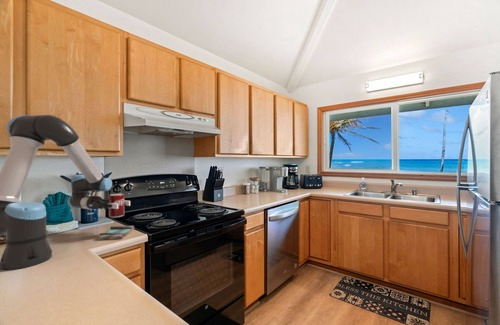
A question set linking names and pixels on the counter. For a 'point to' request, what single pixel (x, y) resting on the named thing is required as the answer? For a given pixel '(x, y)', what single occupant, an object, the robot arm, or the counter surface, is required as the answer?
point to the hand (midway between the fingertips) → (123, 204)
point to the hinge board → (115, 233)
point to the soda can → (120, 200)
